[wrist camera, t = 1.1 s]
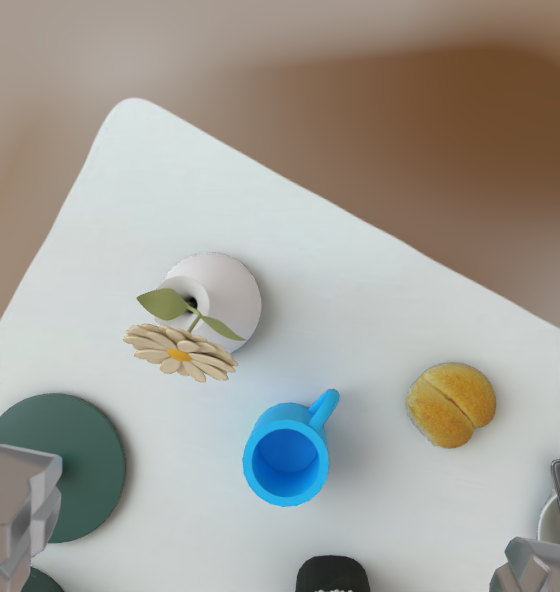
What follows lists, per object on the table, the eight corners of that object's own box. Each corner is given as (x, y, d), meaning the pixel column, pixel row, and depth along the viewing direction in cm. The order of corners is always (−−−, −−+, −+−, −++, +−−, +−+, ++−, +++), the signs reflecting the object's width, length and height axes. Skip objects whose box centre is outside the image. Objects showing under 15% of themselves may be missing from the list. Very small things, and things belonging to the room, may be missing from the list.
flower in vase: (141, 315, 57) (10, 323, 32) (201, 233, 56) (117, 177, 31) (233, 385, 56) (173, 450, 31) (295, 303, 56) (284, 301, 31)
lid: (106, 556, 56) (87, 579, 52) (-30, 514, 57) (-60, 533, 53) (144, 414, 56) (129, 424, 52) (7, 375, 57) (-19, 381, 53)
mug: (294, 492, 55) (291, 524, 47) (237, 444, 56) (224, 467, 48) (364, 408, 55) (373, 426, 47) (306, 360, 56) (305, 370, 47)
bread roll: (504, 402, 54) (520, 410, 50) (441, 455, 54) (451, 467, 50) (453, 343, 55) (465, 347, 51) (390, 397, 55) (397, 404, 51)
